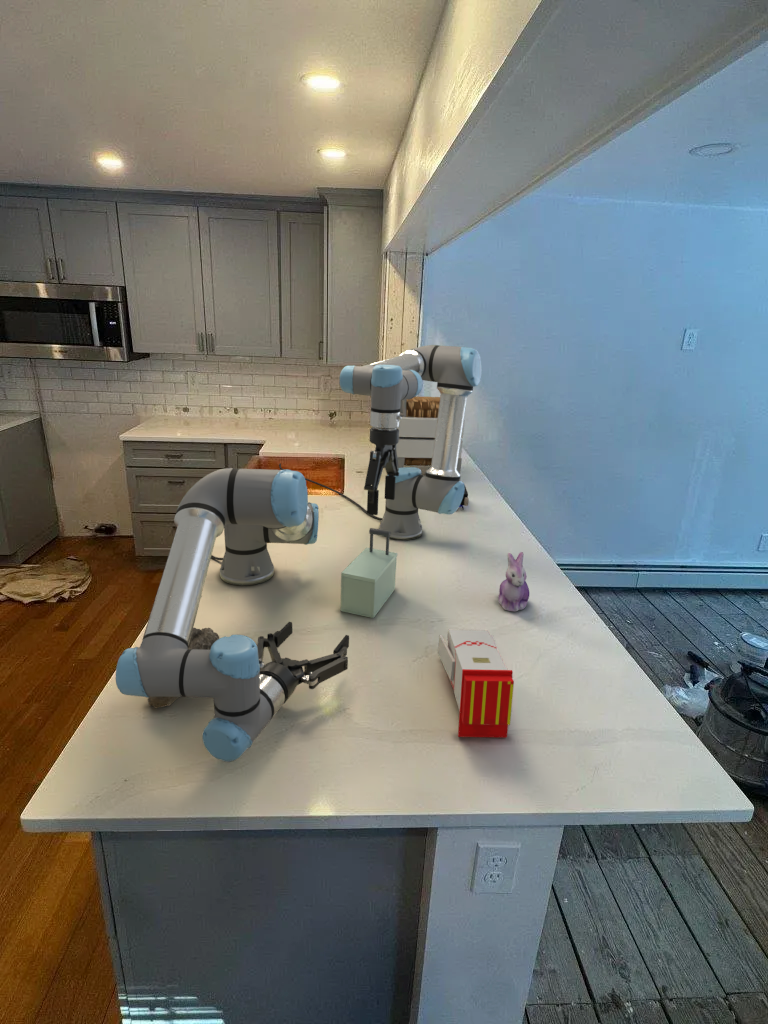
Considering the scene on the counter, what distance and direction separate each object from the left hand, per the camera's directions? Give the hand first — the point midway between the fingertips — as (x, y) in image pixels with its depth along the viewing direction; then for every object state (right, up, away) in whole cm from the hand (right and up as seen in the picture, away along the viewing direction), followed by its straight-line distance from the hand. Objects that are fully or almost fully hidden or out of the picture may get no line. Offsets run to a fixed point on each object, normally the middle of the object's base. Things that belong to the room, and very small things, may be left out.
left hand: (318, 633), depth 123 cm
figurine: (+50, +1, +32) cm, 59 cm away
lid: (+11, +12, +27) cm, 32 cm away
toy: (+32, -11, -5) cm, 34 cm away
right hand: (+14, +28, +28) cm, 42 cm away
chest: (+10, +3, +31) cm, 32 cm away
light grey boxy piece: (+32, +45, +152) cm, 161 cm away
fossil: (-26, -8, -5) cm, 28 cm away
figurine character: (+45, +29, +108) cm, 120 cm away
